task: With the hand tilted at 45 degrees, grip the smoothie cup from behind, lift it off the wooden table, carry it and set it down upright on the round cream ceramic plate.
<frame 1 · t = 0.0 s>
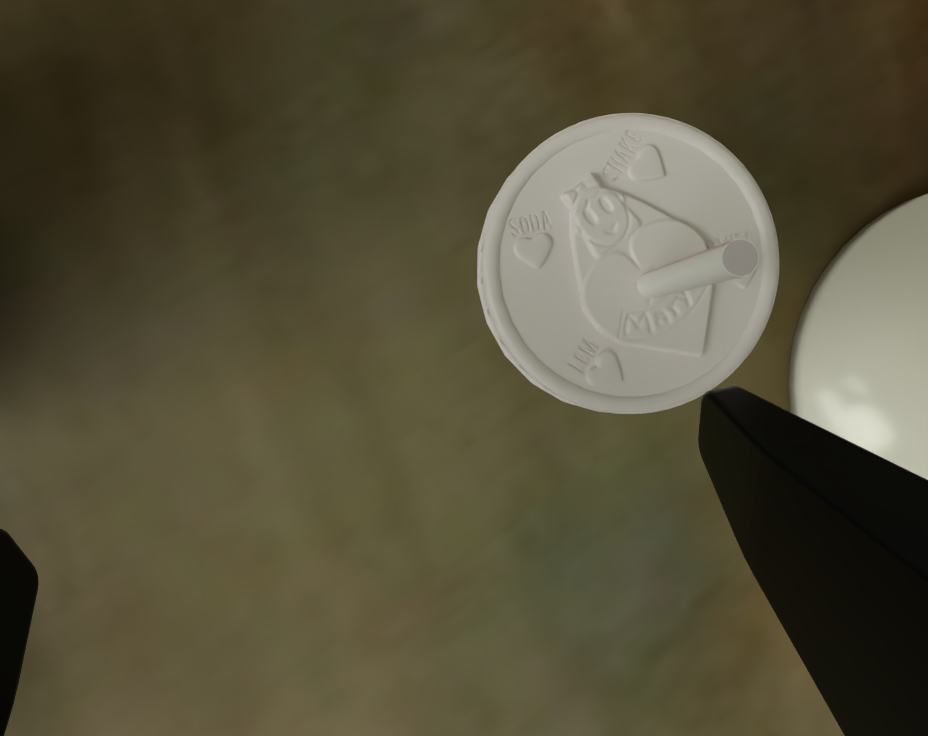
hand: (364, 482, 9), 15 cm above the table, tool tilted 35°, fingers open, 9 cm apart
smoothie: (554, 298, 24), on the table
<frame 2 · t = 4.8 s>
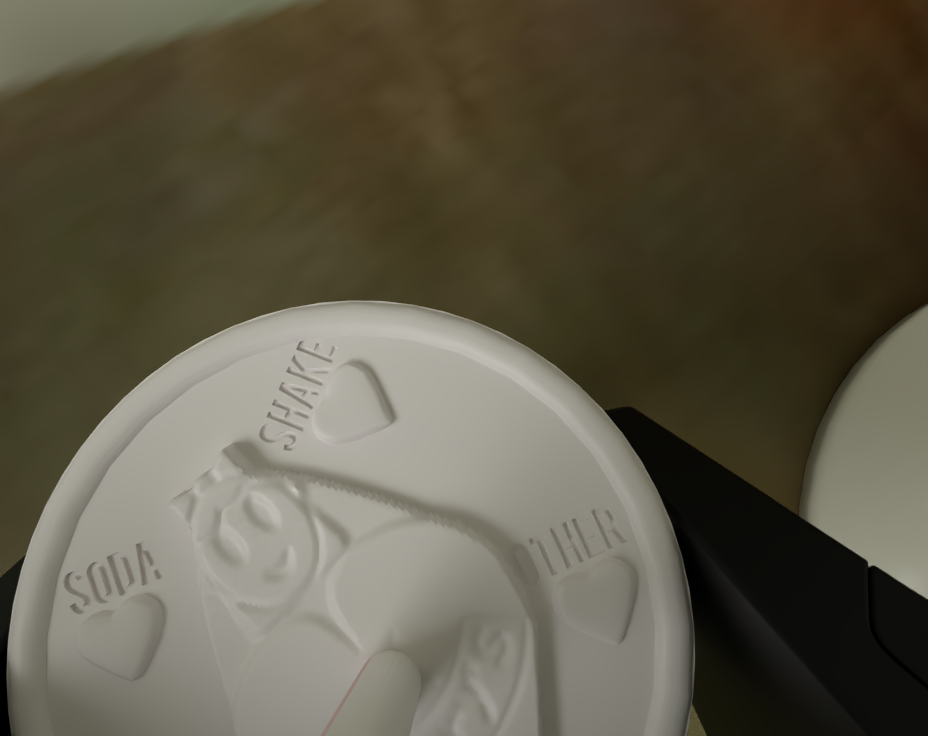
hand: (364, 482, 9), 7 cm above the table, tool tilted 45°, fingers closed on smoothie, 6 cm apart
smoothie: (424, 544, 16), on the table, touching gripper
when the fingers open (9 cm above the table, at t = 8.8 s): smoothie drops 1 cm, resting on plate.
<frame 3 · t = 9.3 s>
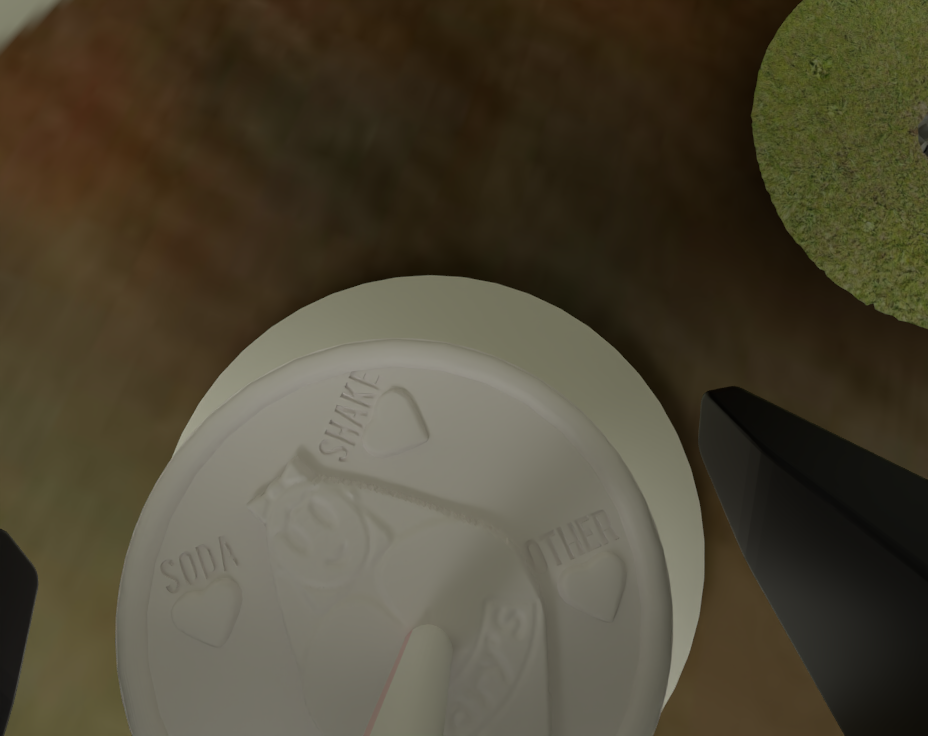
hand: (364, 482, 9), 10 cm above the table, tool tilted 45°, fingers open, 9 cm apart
smoothie: (436, 539, 17), point 1 cm above the table, touching plate
plate: (429, 537, 18), on the table
green disc: (913, 168, 20), on the table
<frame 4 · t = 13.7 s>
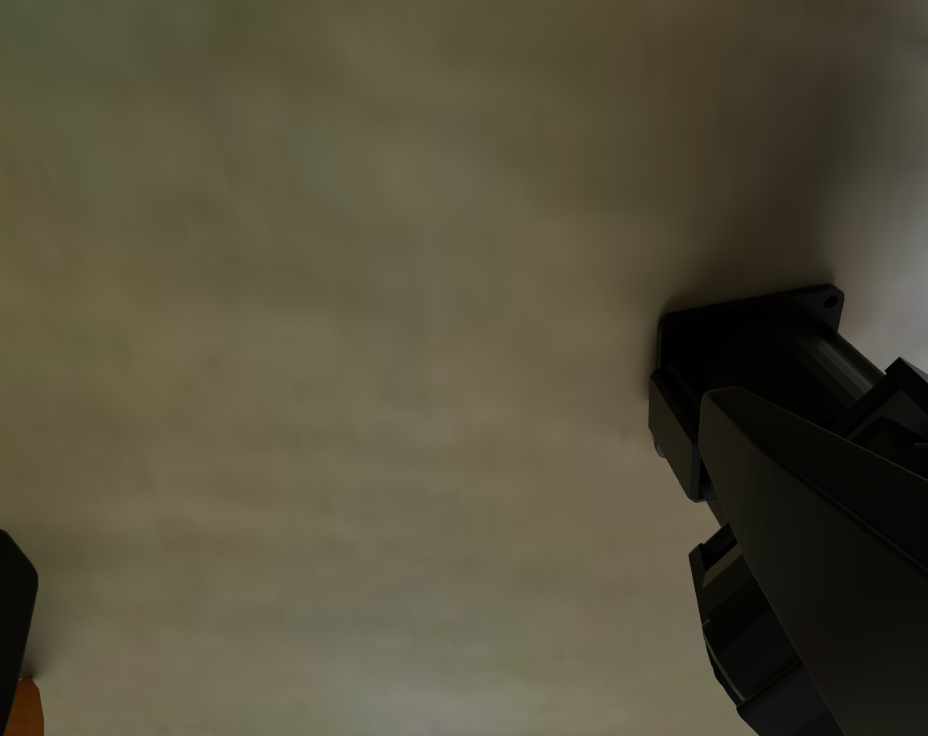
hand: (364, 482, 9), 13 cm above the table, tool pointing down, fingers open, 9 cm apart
carrot: (30, 675, 30), on the table
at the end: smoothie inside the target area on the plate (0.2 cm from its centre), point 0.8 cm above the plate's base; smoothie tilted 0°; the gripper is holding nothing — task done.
